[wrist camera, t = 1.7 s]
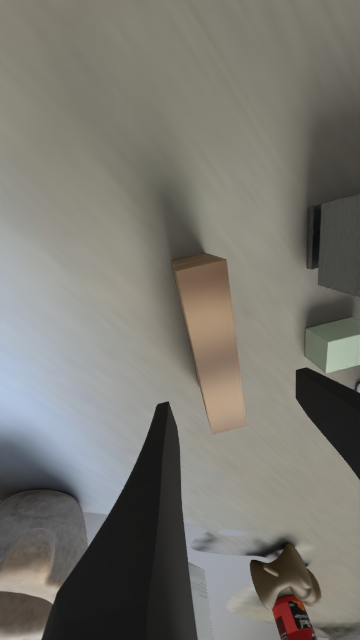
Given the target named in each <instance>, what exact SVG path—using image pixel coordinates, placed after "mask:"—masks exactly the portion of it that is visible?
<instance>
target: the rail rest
mask: <svg viewBox="0 0 360 640" xmlns="http://www.w3.org/2000/svg"><path fill="white" fill-rule="evenodd" d="M305 357H306V358H308V359H309V360H310V361H311V362H312V363H314V364H315V365H316V366H317V367H319V368H320V369H321V370H322V371H324V372H325V373H329V372H333V371H337V370H341V369H345V368H349V367H353V366H357V365H360V320H359V319H357V318H354V317H350V318H346V319H342V320H338V321H334V322H330V323H326V324H322V325H318V326H313V327H309V328H306V330H305Z"/></svg>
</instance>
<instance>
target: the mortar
mask: <svg viewBox="0 0 360 640" xmlns="http://www.w3.org/2000/svg"><path fill="white" fill-rule="evenodd" d="M87 548H88V543H87V534H86V527H85V521H84V516H83V513H82V509H81V507H80V505H79V503H78V502H77V500H76V499H75V498H73V497H72V496H70V495H67V494H65V493H62V492H59V491H53V490H29V491H23V492H19V493H17V494H14V495H12V496H10V497H8V498H6V499H5V500H3V501H1V502H0V640H41V639H42V636H43V632H44V629H45V625H46V622H47V619H48V616H49V613H50V610H51V608H52V605H53V603H54V600H55V597H56V594H57V592H58V590H59V589H60V587H61V586H62V584H63V583H64V582H65V580H66V579H67V577H68V576H69V574H70V573H71V571H72V570H73V569H74V567H75V566H76V564H77V563H78V561H79V560H80V559H81V557H82V556H83V554H84V553H85V551H86V550H87Z"/></svg>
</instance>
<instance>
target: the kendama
mask: <svg viewBox="0 0 360 640" xmlns="http://www.w3.org/2000/svg"><path fill="white" fill-rule="evenodd" d="M250 572H251V576H252V581H253V584H254V587H255V590H256V592H257V594H258V597H259V599H260V600H261V602H262V604H263V605H264V606H265V608H267V609H268V610H271V609H273V607H274V604H275V601H276V599H277V596H278V594H279V592H280V591H281V590H282V589H284V588H286V587H290V589H291V591H292V593H293V595H294V596H295V597H296V598H297V599H299V600H301V601H303V603H304V604H305V605H308V606H310V607H313V606H317V605H318V604H319V603H320V599H321V591H320V587H319V584H318V582H317V580H316V578H315V576H314V575H313V574H312V573H311V572H310V571H309V570H308V569H307V568H306V566H305V564H304V562H303V560H302V558H301V556H300V555H299V553H298V551H297V550H296V549H295V547H294V546H293V545H292V544H290V543H287V544H286V545H285V547H284V549H283V552H282V554H281V555H280V557H279V558H278V559H276V560H274V561H272V562H271V563H264V562H261V561H258V560H251V562H250Z"/></svg>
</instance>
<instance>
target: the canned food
mask: <svg viewBox="0 0 360 640" xmlns="http://www.w3.org/2000/svg"><path fill="white" fill-rule="evenodd" d="M272 611H273V614H274V618H275V621H276V624H277V628H278V631H279V634H280V637H281V640H317V638H316V635H315V632H314V630H313V627H312V625H311V622H310V620H309V617H308V615H307V612H306V610H305V607H304V605H303V602H302V601H301V600H299V599H297V598H296V597H295V596H294V595H289V596H284V597H281V598H279V599H277V600H276V601H275V604H274V607H273V609H272Z"/></svg>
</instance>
